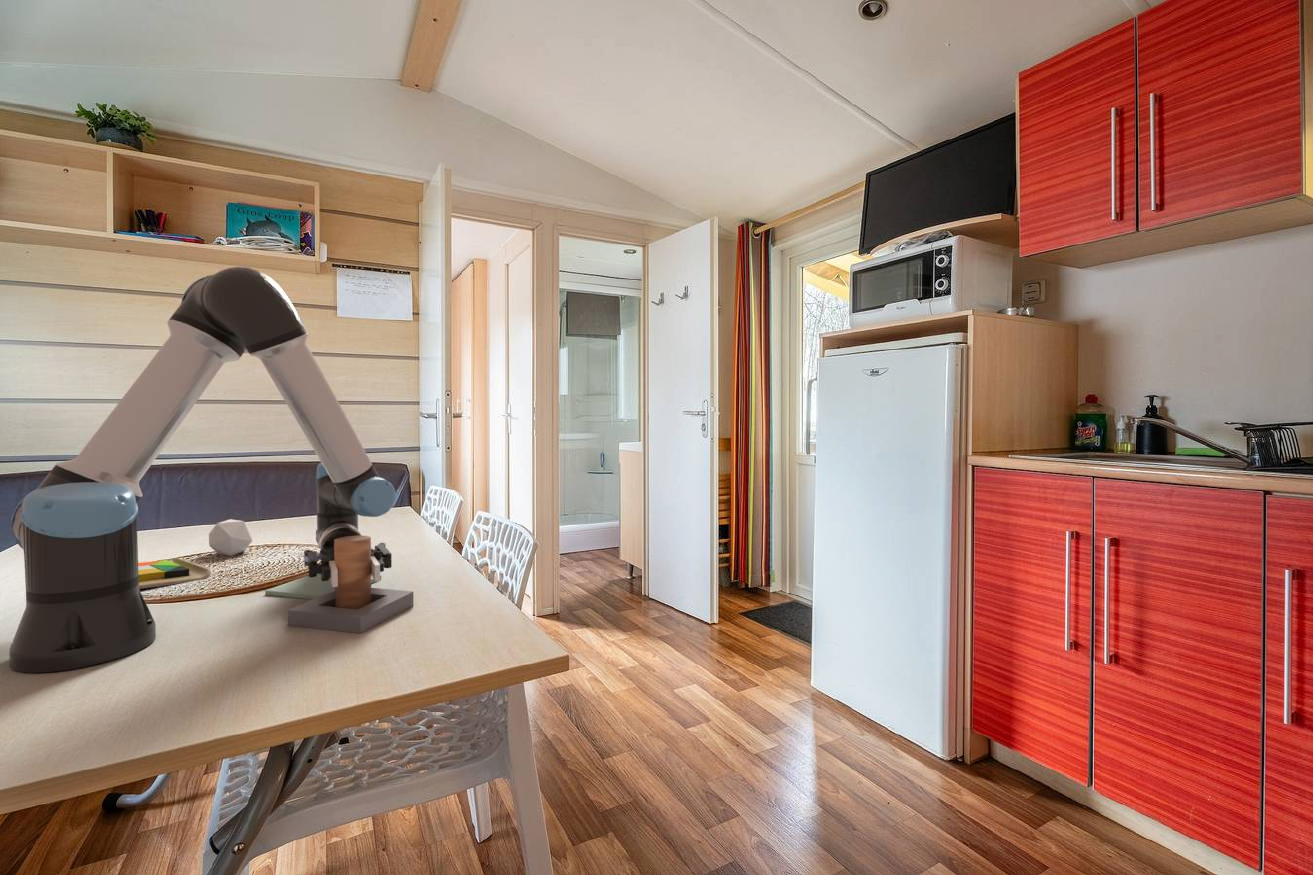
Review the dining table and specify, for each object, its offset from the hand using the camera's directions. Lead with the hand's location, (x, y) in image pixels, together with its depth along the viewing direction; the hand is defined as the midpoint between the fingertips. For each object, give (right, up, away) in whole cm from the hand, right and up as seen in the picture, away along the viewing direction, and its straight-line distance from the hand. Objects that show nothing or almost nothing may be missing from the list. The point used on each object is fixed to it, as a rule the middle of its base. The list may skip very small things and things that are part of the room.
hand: (356, 575), depth 97 cm
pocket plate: (-3, -8, +5) cm, 10 cm away
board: (-16, -7, +20) cm, 26 cm away
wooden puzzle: (-54, -7, +22) cm, 59 cm away
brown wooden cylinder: (-3, -8, +5) cm, 10 cm away
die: (-51, -5, +44) cm, 68 cm away
